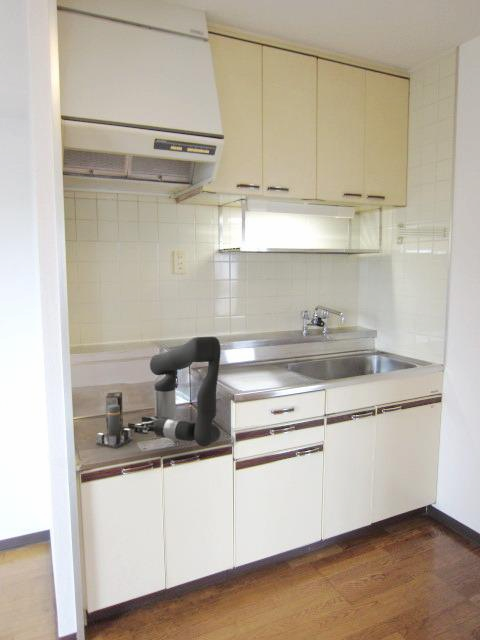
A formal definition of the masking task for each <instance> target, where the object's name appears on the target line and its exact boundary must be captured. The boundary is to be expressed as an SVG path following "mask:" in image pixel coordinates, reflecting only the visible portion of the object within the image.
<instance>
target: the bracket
mask: <svg viewBox="0 0 480 640" xmlns="http://www.w3.org/2000/svg"><path fill="white" fill-rule="evenodd" d="M131 432H132V429H129V428H123V435H120V441H117V442H116V436H113V435H111V436H109V441H108V436H106V437H105V433H102V432H99V433H96V442H95V443H96V445H99V446H103V447H108V448H111V449H117V448H120V447H121V446H123V445H125V444H127V443H129V442H131V441H132V440H133V438H132V437H131V436H132V435H131V434H132V433H131Z"/></svg>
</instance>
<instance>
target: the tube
mask: <svg viewBox="0 0 480 640" xmlns="http://www.w3.org/2000/svg"><path fill="white" fill-rule="evenodd" d="M111 435H113V436H116V442H117V441H120V436H121V434H120V406H119V405H110V406H108V434H107V437H108V441H109V436H111Z"/></svg>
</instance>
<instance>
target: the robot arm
mask: <svg viewBox="0 0 480 640" xmlns="http://www.w3.org/2000/svg"><path fill="white" fill-rule="evenodd" d="M221 353H222V350H221V343H220V340H219V339H218V337H216V336H197V337H193V338H191V339H190V340H188V341H186V343H184V344H181V345H178V346H175V347H174V348H171V349H169V350H167V351H166V352H163V353H162V354H161V353H160V354H154V355H153V356H152V357H151V359H150V362H149V368H150V371H151V373H152V374H153V375H156V376H163V375H165V376H164V377H162V379H160V380H159V381H156V382H155V383H154V416H151V417H148V416H145V415H143V416H142V417H141V423H135V422H128V423H127V427H128V428H127V429H131V430H133V433H134V434H141V435H148V433H154V434H155V436H156V437H159V438H165V439H170V440H179V441H185V442H191V441H192V442H193V441H195V443H196V445H198V446H199V447H208V446H209V445H212V444H214V443H216V442H217V441H218V440H219V439H220V436H221V430H220V429H219V427H218V426H217V425H216V424H213V420H214V419H215V418H216V416H217V386H218V379H219V378H218V377H219V370H220V363H221ZM193 363H208V366H207V373H206V375H205V378H204V379H203V382H202V383H201V385H200V386H199V387H200V388H199V389H198V393H197V396H196V405H197V407H196V410H197V411H196V412H197V415H196V419H195V422H190V421H186V420H181V419H177V417H178V416H177V414H178V413H177V412H178V411H177V404H176V385H177V371H179V370H184V369H186V368H188V367H190V366H191V365H192V364H193Z"/></svg>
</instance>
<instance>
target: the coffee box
mask: <svg viewBox="0 0 480 640" xmlns="http://www.w3.org/2000/svg"><path fill="white" fill-rule="evenodd" d="M110 405H119V406H120V435H121V434H122V431H123V429H124V428H123V427H124V419H123V418H124V417H123V416H124V415H123V413H124V411H123V408H124V407H123V392H122V391H121V392H119V391H118V392H108V393H107V395H106V397H105V417H106V418H105V421H106V422H105V423H106V424H105V425H106V426H105V427H106V429H105V431H106V435H108V406H110Z"/></svg>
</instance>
